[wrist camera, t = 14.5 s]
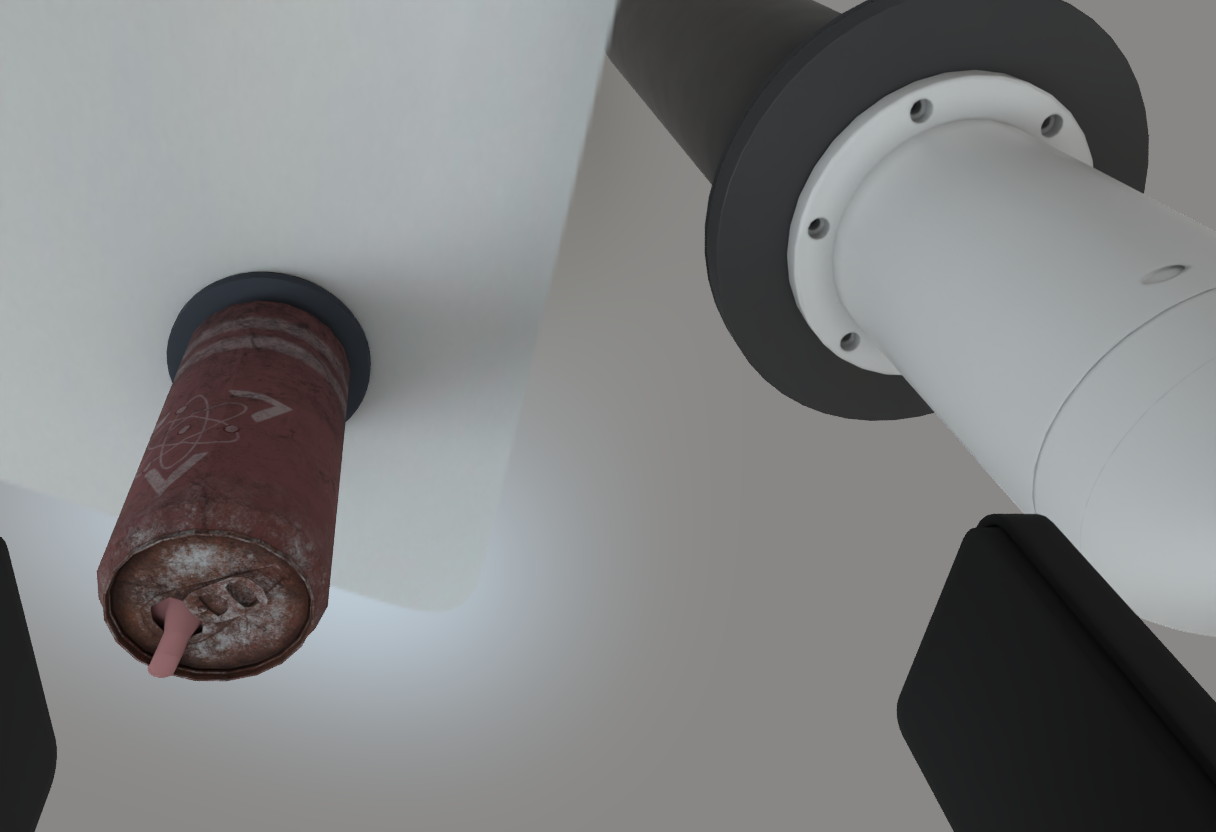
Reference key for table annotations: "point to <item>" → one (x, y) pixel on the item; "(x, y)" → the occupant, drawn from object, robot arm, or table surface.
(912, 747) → the robot arm
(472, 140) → the table surface
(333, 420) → the can
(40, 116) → the table surface
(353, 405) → the coaster
